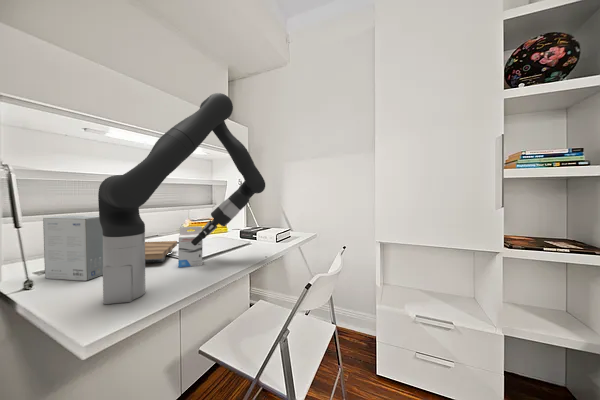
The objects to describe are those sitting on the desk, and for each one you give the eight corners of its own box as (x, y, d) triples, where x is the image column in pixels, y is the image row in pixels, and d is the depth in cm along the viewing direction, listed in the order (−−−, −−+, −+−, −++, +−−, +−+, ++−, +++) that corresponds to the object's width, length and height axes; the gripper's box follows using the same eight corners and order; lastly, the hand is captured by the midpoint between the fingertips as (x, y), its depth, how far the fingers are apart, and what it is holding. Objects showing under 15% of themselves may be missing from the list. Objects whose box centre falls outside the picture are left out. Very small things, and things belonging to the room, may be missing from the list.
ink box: (178, 268, 87) (178, 229, 87) (178, 264, 92) (178, 227, 91) (202, 265, 91) (202, 228, 90) (202, 261, 95) (202, 226, 95)
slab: (162, 258, 88) (162, 253, 88) (119, 260, 85) (119, 255, 85) (176, 245, 110) (176, 240, 110) (143, 246, 106) (143, 242, 106)
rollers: (163, 262, 93) (163, 255, 93) (128, 264, 90) (128, 257, 89) (172, 254, 105) (172, 247, 105) (141, 255, 102) (141, 248, 102)
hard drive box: (109, 273, 81) (108, 216, 80) (86, 281, 73) (85, 218, 72) (69, 270, 82) (67, 214, 81) (43, 278, 75) (41, 217, 74)
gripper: (220, 204, 100) (191, 231, 97) (217, 206, 86) (183, 239, 84) (233, 216, 101) (204, 243, 99) (232, 220, 88) (199, 252, 85)
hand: (194, 241), depth 91 cm, fingers open, 7 cm apart
